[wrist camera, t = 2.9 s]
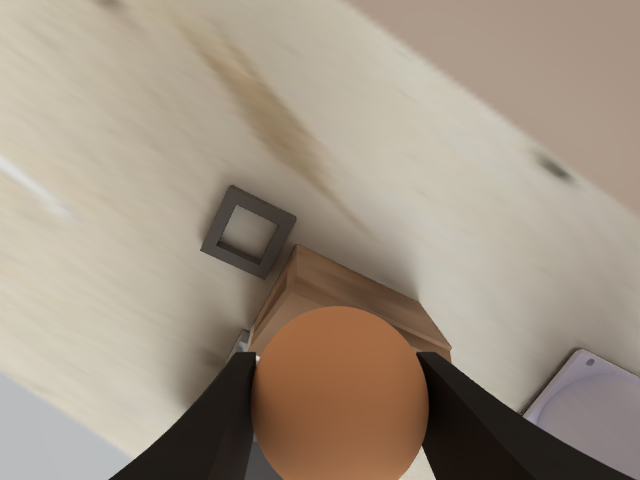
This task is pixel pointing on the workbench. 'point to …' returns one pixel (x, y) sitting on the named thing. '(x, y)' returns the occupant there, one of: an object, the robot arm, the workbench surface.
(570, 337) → the workbench surface
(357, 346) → the ball
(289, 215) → the dark gray picture frame
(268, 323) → the ramp
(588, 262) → the workbench surface
